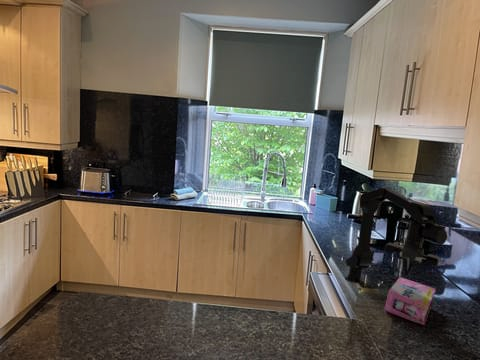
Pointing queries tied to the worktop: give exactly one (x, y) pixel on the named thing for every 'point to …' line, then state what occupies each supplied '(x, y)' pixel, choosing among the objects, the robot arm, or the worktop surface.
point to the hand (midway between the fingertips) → (406, 275)
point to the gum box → (410, 300)
